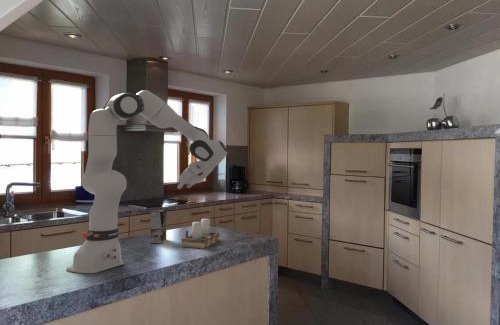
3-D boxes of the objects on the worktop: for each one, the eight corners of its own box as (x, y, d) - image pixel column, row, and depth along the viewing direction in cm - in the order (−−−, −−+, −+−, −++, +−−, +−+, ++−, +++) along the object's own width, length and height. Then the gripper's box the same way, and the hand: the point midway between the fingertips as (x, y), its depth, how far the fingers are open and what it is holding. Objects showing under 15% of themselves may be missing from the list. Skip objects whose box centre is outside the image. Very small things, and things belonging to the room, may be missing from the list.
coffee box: (162, 243, 203) (162, 211, 203) (150, 243, 203) (150, 211, 203) (166, 239, 212) (166, 209, 212) (154, 239, 212) (154, 209, 212)
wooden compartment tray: (203, 248, 192) (203, 234, 192) (181, 246, 196) (181, 232, 196) (219, 240, 211) (219, 227, 211) (198, 238, 215) (198, 225, 215)
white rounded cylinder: (199, 241, 196) (199, 223, 195) (190, 241, 197) (190, 223, 197) (203, 239, 200) (203, 222, 200) (194, 239, 202) (194, 221, 201)
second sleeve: (207, 237, 206) (207, 220, 205) (199, 237, 207) (199, 219, 207) (211, 235, 210) (211, 218, 210) (203, 235, 212) (203, 218, 211)
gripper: (206, 164, 204) (189, 182, 207) (188, 163, 185) (169, 183, 188) (214, 173, 203) (196, 191, 206) (196, 173, 184) (177, 193, 187)
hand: (183, 187), depth 197 cm, fingers open, 8 cm apart
